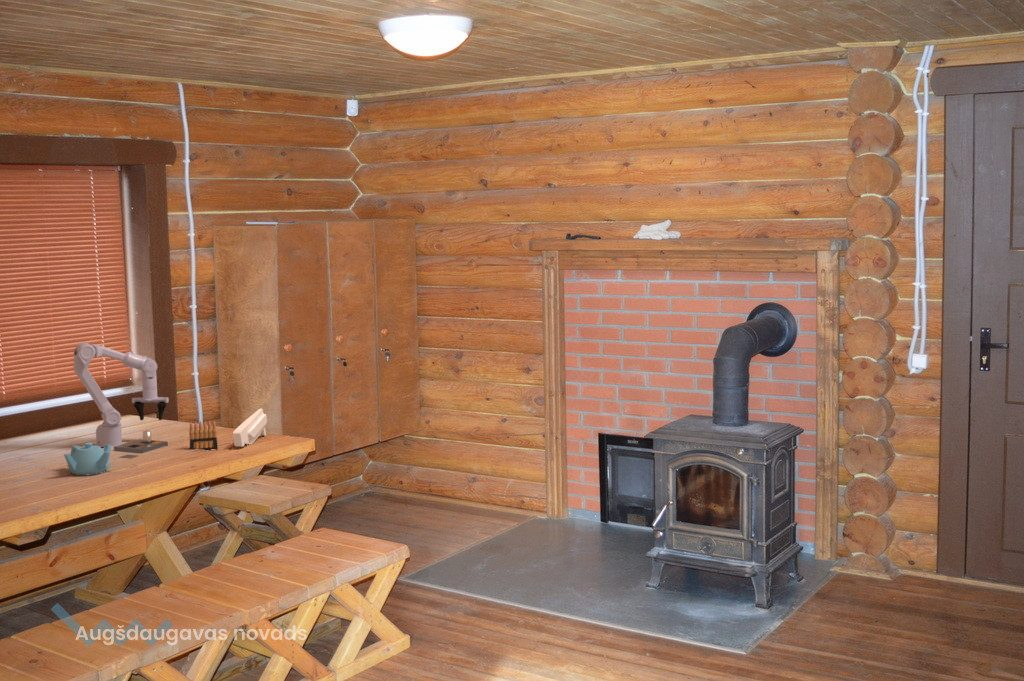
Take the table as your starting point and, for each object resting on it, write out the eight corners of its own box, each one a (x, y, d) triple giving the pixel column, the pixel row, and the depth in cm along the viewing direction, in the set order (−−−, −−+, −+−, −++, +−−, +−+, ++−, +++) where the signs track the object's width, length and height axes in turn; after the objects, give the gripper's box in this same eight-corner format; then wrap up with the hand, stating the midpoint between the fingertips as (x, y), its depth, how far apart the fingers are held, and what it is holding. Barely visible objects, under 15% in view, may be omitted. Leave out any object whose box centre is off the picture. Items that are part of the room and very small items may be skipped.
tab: (118, 459, 404) (118, 457, 404) (127, 457, 409) (127, 454, 409) (131, 461, 402) (131, 458, 402) (140, 458, 407) (139, 455, 407)
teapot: (114, 465, 396) (113, 437, 394) (110, 475, 381) (108, 445, 380) (71, 468, 392) (69, 440, 390) (65, 478, 377) (63, 448, 376)
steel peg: (141, 448, 423) (141, 431, 422) (146, 447, 426) (145, 430, 425) (148, 449, 422) (148, 432, 421) (153, 447, 425) (152, 430, 425)
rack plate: (114, 452, 416) (113, 446, 416) (139, 445, 430) (139, 438, 430) (142, 455, 411) (142, 449, 411) (167, 447, 425) (167, 441, 425)
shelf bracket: (270, 436, 447) (267, 408, 443) (246, 461, 424) (242, 432, 420) (258, 435, 448) (255, 408, 444) (234, 460, 425) (230, 432, 421)
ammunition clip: (217, 448, 423) (216, 419, 421) (217, 449, 421) (216, 420, 420) (189, 451, 419) (188, 421, 417) (190, 452, 417) (188, 422, 416)
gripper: (128, 389, 429) (130, 421, 431) (164, 388, 429) (165, 421, 431) (134, 386, 436) (136, 418, 438) (169, 386, 436) (171, 418, 438)
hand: (151, 419), depth 435 cm, fingers open, 7 cm apart
